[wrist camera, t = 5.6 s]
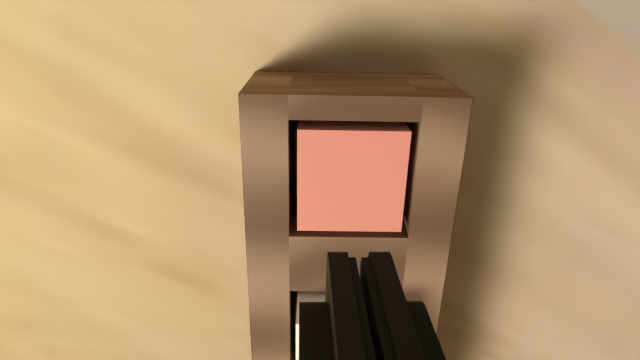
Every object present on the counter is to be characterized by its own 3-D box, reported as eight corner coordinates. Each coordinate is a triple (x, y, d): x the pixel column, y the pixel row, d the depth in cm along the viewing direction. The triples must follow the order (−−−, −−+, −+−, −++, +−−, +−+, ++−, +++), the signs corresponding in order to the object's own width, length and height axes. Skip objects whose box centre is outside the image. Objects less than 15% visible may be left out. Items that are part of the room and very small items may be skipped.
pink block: (299, 107, 23) (297, 129, 19) (396, 109, 23) (411, 131, 19) (299, 195, 25) (297, 230, 21) (388, 196, 25) (401, 232, 21)
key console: (255, 71, 24) (238, 93, 19) (437, 74, 24) (473, 98, 19) (267, 412, 34) (258, 492, 29) (396, 412, 34) (411, 492, 29)
